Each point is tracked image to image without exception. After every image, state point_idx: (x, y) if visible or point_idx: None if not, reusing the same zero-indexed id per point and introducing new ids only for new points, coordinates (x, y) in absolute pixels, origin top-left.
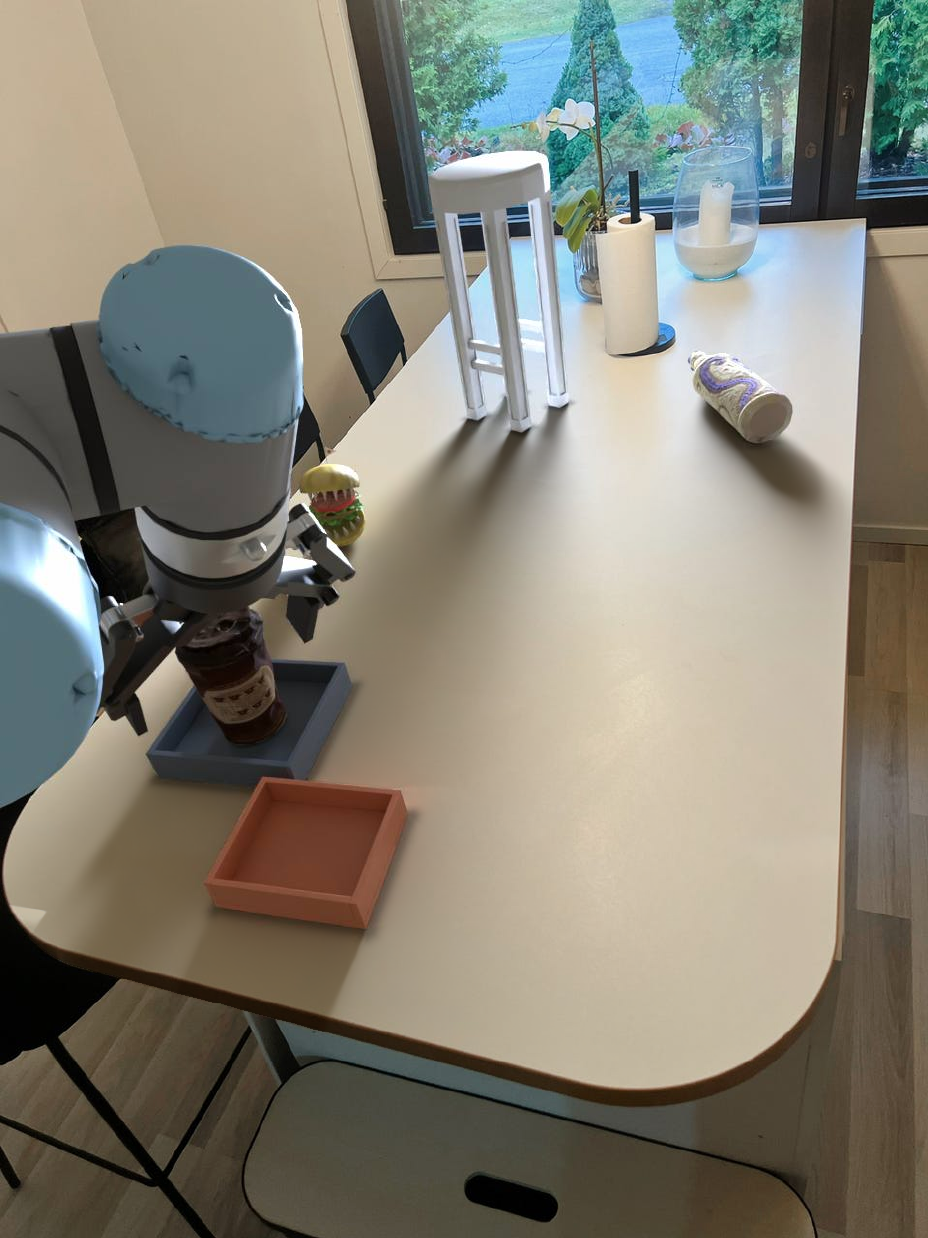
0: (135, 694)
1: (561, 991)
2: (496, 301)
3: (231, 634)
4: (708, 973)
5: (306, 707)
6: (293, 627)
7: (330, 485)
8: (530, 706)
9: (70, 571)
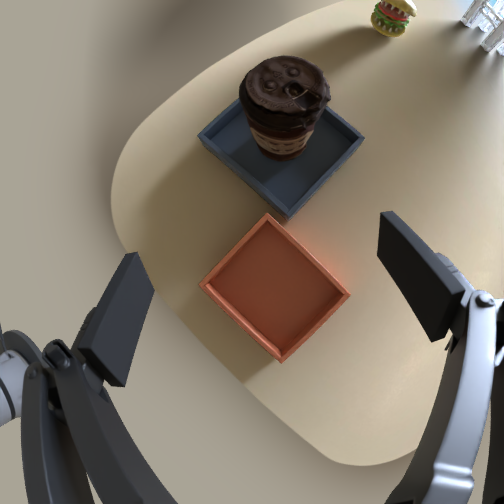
0: (119, 382)
1: (342, 427)
2: None
3: (297, 107)
4: (390, 440)
5: (321, 148)
6: (379, 232)
7: (401, 6)
8: (443, 253)
9: None
